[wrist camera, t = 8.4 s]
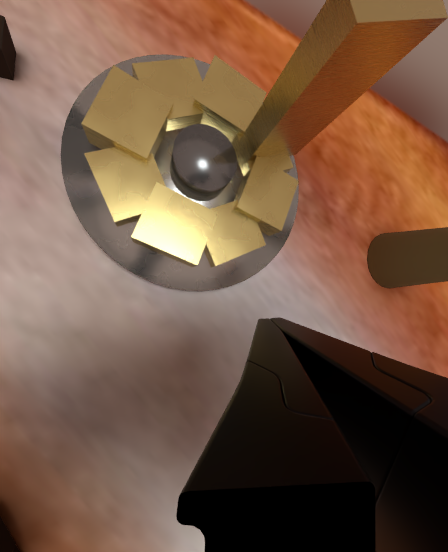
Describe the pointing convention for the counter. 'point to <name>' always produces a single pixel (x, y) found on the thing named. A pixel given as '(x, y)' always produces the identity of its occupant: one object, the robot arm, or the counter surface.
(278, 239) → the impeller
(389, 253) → the olive pepper mill
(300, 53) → the tan block ring
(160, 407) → the counter surface
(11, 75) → the adjustable wrench
